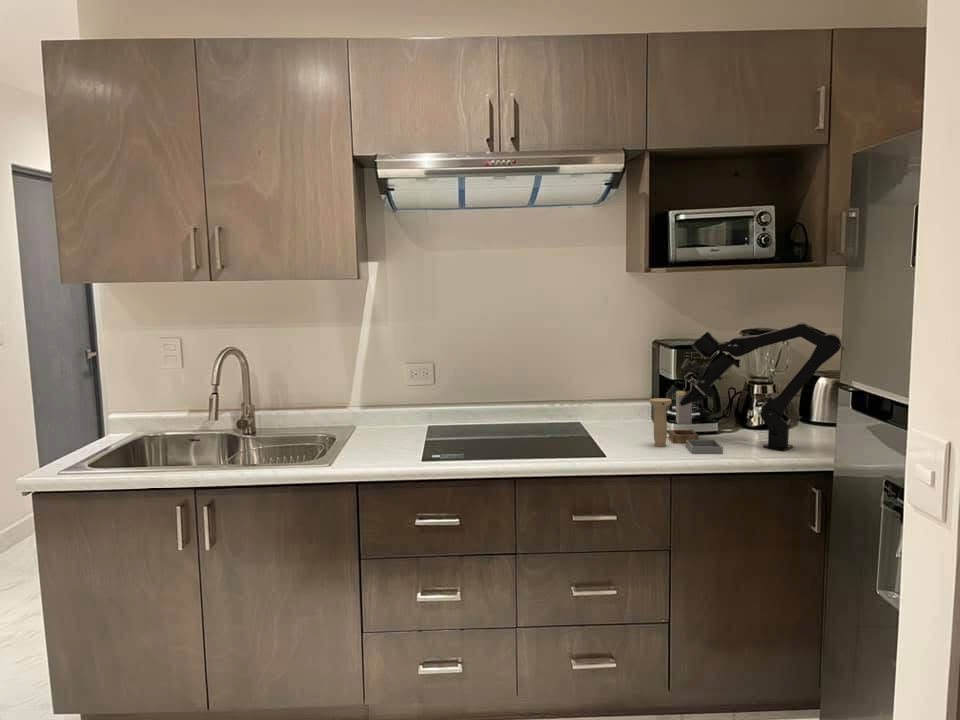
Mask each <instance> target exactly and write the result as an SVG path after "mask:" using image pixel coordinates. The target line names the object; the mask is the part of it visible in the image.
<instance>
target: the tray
mask: <svg viewBox="0 0 960 720" xmlns="http://www.w3.org/2000/svg"><path fill="white" fill-rule="evenodd" d="M685 447H686V449H687V450H688V451H689V452H690V453H691V454H692V455H723V454H724V453H723V452H724V447H723V445H721V444H720V443H719V442H718V441H717V440H716V439H698V440H686V444H685Z"/></svg>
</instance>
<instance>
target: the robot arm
mask: <svg viewBox="0 0 960 720" xmlns="http://www.w3.org/2000/svg"><path fill="white" fill-rule="evenodd" d="M797 338H802V339H804V340H805V341H807V342H809V343H811V344H813V346H814V345H815V348H814V350H813V352H812V353H811V356H810V357H809V359H808V360H807V361H806V362H805V363H804V364H803V365H802V367H801V368H800V369H799V370H798V372H796V374H794V376H793V377H792V378H791V380H790V381H789V383H787V385H786V386H785V387H784V389H783V390H782V391H781V392H780V393H779V394H777V395H776V396H775V395H774V393H771V395H769V397H768V399H767V401H765V402H764V403H763V404H762V406H761V408H762V409H761V411H760V418H761V419H762V421H763V422H764V423H766V425H767V428H768V432H767V434H768V435H767V443H765V444H764V445H762V447H763V448H767V449H772V450H778V451H787V450H789V449H791V448H793V447H794V446H793V445H791V444H789V441H790V440H789V435H790V428H789V427H790V426H789V425H790V423H791V420H792V419H791V418H790V417H789V416H788V415H787V414H786V413H785V412H786V410H787V408H788V406H789V405H790V402H791V401H792V400H793V399H794V397H795V396H797V394H798V393H799V392H800V390H801V389H802V388H804V386H805V384H806V383H807V382H808V381H809V380H811V378H812V376H814V374H815V373H816V372H817V370H819V368H820V367H821V366H822V365H823V364H825V363H826V362H827V361H829V360H830V359H831V358H832V357H834V355H836V354H837V353H838V352H839V351H840V350H841V348H842V344H843V343H842V341H843V340H842V338H841V337H840V335H838V334H836V333H832V332H830V333H827V332H824V331H823V330H821V329H818V328H816V327H813V326H812V325H809V324H808V323H806V322H800V323H798V324H796V325H791V326H787V327H784V328H783V327H782V328H780V329H777V330H772V331H768V332H765V333H762V334H756V335H743V336H736V337H734V338H732V339H730V341H723V342H720V341H719V340H718V339H716V338H715V337H714V335H712V333H711V332H710V331H706V332H705V333H704V334H703V335H701V336H700V337H698V339H697V340H696V341H695V342H694V343H693V344H692V345H691V347H692V348H693V349H694V350H695V351H696V352H697V353H698V354H700V356H702V358H703V359H706V358H708V359H711V360H710V361H709V362H708V363H703V364H700V362H699V361H697V360H693V361H690V360H688V359H686V358H685V359H684V361H683V363H682V365H681V366H680V369H682V370H683V371H685V372H686V373H687V372H688V373H687V374H686V373H685V374H686V375H685V374H684V375H685V376H684V375H683V377H684V381H685V383H684V384H685V387H684V388H683V390H682V391H689V392H688V393H687V394H686V396H685V397H684V398H683V400H682V401H681V402H680V404H681V405H682V406H683V405H686V404H689V403H691V402H692V403H694V402H697V401H700V400H702V399H706V398H709V399H712V398H713V397H714V396H715V395H716V390H715V389H714V388H713V387H712V386H713V385H714V384H715V383H716V382H717V381H721V380H722V379H723V378H722V376H724V374H725V373H727V371H729V370H730V369H731V368H732V367H733V366H734V367H735V368H736V369H740V367H741V366H740V365H741V364H740V363H741V359H740V358H739V357H742V356H744V355H747V354H749V353H751V352H754V351H755V350H757V349H760V348H763V347H766V346H771V345H774V344H778V343H781V342H785V341H790V340H793V339H797ZM717 352H718V353H717ZM726 353H728V354H726ZM715 354H716V355H715ZM713 356H714V357H713ZM712 357H713V358H712ZM735 357H736V358H739V359H736V358H735ZM689 377H691V378H690V379H688V380H687V378H689Z"/></svg>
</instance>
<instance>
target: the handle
mask: <svg viewBox="0 0 960 720" xmlns="http://www.w3.org/2000/svg"><path fill="white" fill-rule="evenodd" d="M649 404H650V405H651V406H653V407H654V420H653V421H654V423H653V440H654V446H655V447H657V448H664V447H666V446H667V443H666V442H667V440H668V439H667V437H668V425H667V424H668V421H667V408H668V407H669V406H671V405H672V399H671V398H665V397H664V398H663V397H662V398H661V397H660V398H658V397H657V398H656V397H655V398H650V399H649Z"/></svg>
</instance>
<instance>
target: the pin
mask: <svg viewBox="0 0 960 720" xmlns="http://www.w3.org/2000/svg"><path fill="white" fill-rule="evenodd" d="M675 392H676V395H675V397H676V398H675V402H676V403H675V422H676V423H677V425H692V419H693V418H692V411H693V410H692V409H693V402H691V403H689V404H686V405H683V406H682V405H681V404H680V402H681V401H682V400H683V398H684V397H685V396H686V394H687V393H688V392H689V391H683V390H676V391H675Z"/></svg>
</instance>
